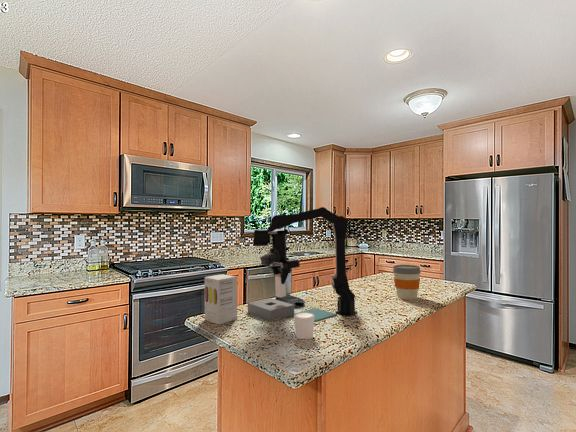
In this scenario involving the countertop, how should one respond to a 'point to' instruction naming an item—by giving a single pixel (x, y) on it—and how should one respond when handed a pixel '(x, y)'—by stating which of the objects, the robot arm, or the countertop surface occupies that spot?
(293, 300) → the electronic device
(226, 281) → the supplement box
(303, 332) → the white cylinder
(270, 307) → the grey flat block
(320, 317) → the mat
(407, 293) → the reusable coffee cup
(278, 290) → the plug
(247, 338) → the countertop surface
